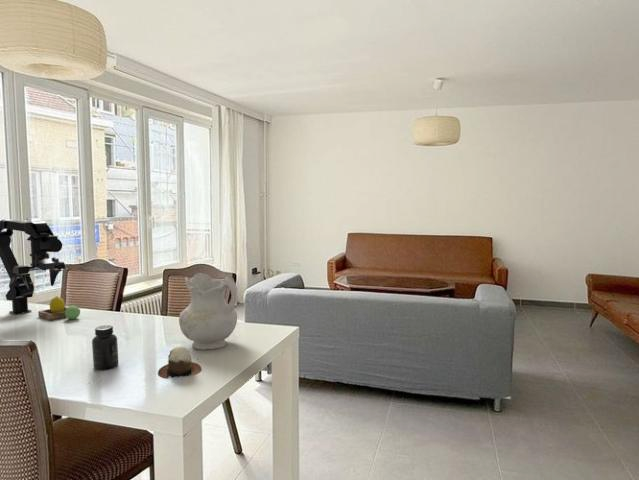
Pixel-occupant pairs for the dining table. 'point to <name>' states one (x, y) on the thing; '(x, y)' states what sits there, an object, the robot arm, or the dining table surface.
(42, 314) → the walnut tray
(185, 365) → the brown brimmed hat
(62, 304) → the lemon
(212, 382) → the dining table surface
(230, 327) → the ceramic pitcher
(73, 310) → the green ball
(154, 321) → the dining table surface
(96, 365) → the supplement bottle
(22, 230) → the robot arm
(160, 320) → the dining table surface
